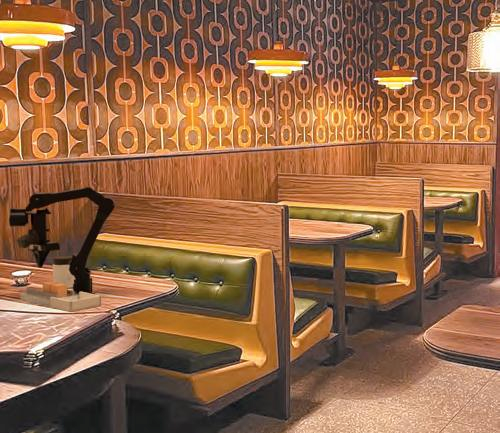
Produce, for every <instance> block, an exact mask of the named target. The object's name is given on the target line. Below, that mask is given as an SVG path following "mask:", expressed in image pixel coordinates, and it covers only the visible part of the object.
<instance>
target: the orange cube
mask: <svg viewBox="0 0 500 433" xmlns="http://www.w3.org/2000/svg"><path fill="white" fill-rule="evenodd" d="M67 290H68V288H67V284H62V283H58V284H52V285H51V293H55V294H58V297H61V296H66V295H67Z"/></svg>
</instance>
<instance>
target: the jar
mask: <svg viewBox="0 0 500 433" xmlns="http://www.w3.org/2000/svg"><path fill="white" fill-rule="evenodd" d="M72 256H73V255H57V256H52V282H57V283H62V284H67V289H69V288H73V284H74V279H75V277H74V276H73V275H71V273H70V271H69V266H70V265H68V264H69V262H70V261H71V260H72Z"/></svg>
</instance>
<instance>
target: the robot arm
mask: <svg viewBox="0 0 500 433" xmlns="http://www.w3.org/2000/svg"><path fill="white" fill-rule="evenodd" d="M84 198H87V199H88V200H90V202H93V203H94V204H95V205H97V206H98V207H97V211H96V214H95V219H94V221H93V223H92V225H91V227H90V230H89V231H88V234H87V236H86V238H85V241H84V242H83V244H82V246H81V248H80V250H79V251H78V253H76V252H74V253H73V255H71V256H72V260H71V261H70V262H69V264H68V265H70V266H69V271H70V273H71V275H73V276H74V284H73V287H72V288H73V289H72V291H75V293H78V294H79V292H85V293H90V294H95V295H96V292H94V291H93V278H92V277H91V275H92V271H91V269H89V268H88V267H87V264H88V260H89V255H90V253H91V252H92V249H93V247H94V245H95V243H96V240H97V238H98V236H99V234H100V233H101V230H102V228H103V226H104V223H105V222H106V221H107V220H108V218H109V217H110V215H111V213H112V212H113V210H114V209H115V206H116V203H115V200H114V199H113V198H112V197H109V196H104V195H103V194H102V193H100V192H99V191H97V190H95V189H94V188H93V187H91V186H85V187H81V188H75V189H70V190H64V191H57V192H56V191H55V192H46V191H45V192H36V193H33V194H32V195H31V196H30V197H29V200H28V201H29V203H28V204H27V205H26V206H25V208H10V209H9V212H10V213H9V217H8V221H9V222H8V225H9V226H10V227H11V228H13V227H14V228H15V227H17V228H18V227H19V228H20V227H27V225H29V224H30V228H29V229H28V230H27V234H24V235H21V236H20V237H18V238H17V239H16V242H17V245H18V247H19V248H23V249H27V248H28V249H27V250H28V251H29V252H31V254H33V257H34V259H35V261H36V264H37V268H43V266H44V264H45V262H46V260H47V257H48V255H49V254H50V252H53V251H60V250H61V244H60V243H59V242H58V241H51V240H50V239H48V232H50V228H48V223H47V222H48V219H47V216H48V215H51V214H52V213H53V212H52V211H51V210H50V209H49V208H48V207H47V206H51V205H54V204H57V203H61V202H66V201H72V200H78V199H79V200H80V199H84ZM45 207H46V208H45ZM43 208H44V209H43ZM35 209H36V212H35V211H34V212H31V211H33V210H35Z"/></svg>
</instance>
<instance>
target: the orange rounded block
mask: <svg viewBox="0 0 500 433" xmlns="http://www.w3.org/2000/svg"><path fill="white" fill-rule="evenodd" d="M52 284H58V283H57V282H53V281H48V282H43V283H42V289H43V291H47V292H51V285H52Z"/></svg>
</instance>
